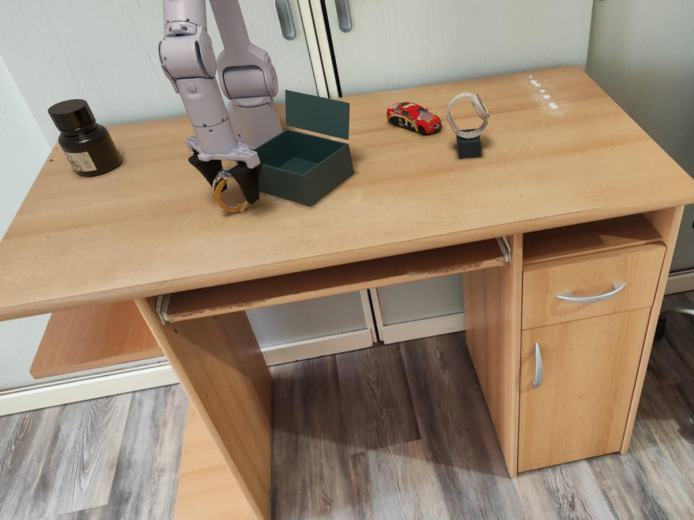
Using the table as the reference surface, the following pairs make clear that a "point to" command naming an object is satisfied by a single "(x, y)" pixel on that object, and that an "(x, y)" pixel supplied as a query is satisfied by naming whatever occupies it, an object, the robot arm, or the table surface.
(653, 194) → the table surface
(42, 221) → the table surface
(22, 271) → the table surface
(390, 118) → the race car
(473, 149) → the watch
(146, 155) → the table surface
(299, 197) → the carton
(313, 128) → the flap
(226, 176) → the ring
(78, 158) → the ink bottle
